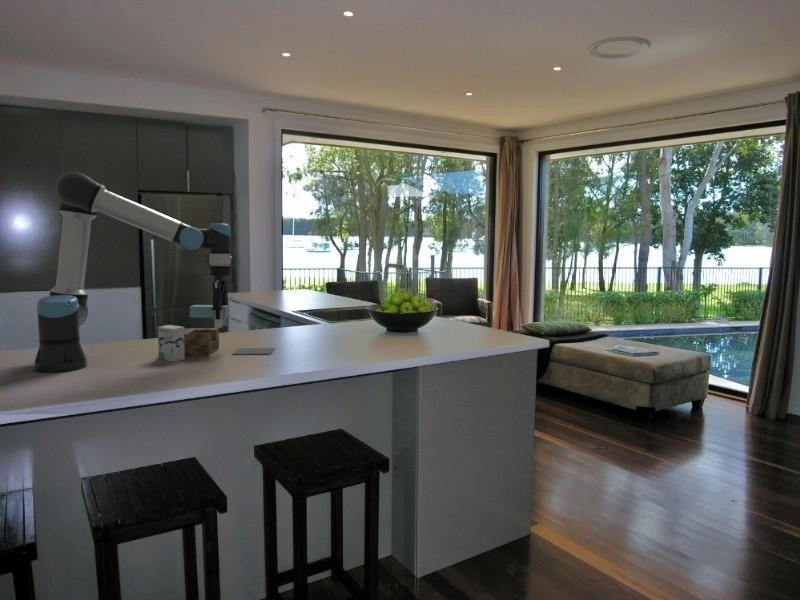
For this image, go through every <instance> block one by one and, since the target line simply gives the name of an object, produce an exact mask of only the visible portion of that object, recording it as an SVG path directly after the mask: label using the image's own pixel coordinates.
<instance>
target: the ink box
mask: <svg viewBox="0 0 800 600" xmlns="http://www.w3.org/2000/svg"><path fill="white" fill-rule="evenodd" d="M184 328H185V327H184V326H180V325H173V324H166V325H162V326H158V327H157V333H158V334H157V339H158V343H157V345H158V347H157V348H158V351H157V352H158V355H157V356H158V360H162V361H168V362H169V361H170V362H179V361H183V360H185V359H186V356H185V346H184Z"/></svg>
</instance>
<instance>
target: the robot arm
mask: <svg viewBox="0 0 800 600" xmlns="http://www.w3.org/2000/svg"><path fill="white" fill-rule="evenodd" d="M55 192H56V195H57V197H58V198H59V205H58V207H59V208H58V212H59V213H60V214H61V216H62V228H61V236H60V244H59V251H58V252H59V253H58V261H57V262H58V264H57V273H56V281H55V286H54V287H52V288H51V289H50V290H49V296H43V297H41V298H39V299H38V301H37V305H36V306H37V307H36V311H37V324H38V327H37V328H38V343H39V346H38V349H37V352H36V357H35V358H34V359H35V360H34V363H33V367H34V371H36V372H39V373H40V372H42V373H56V372H57V373H58V372H66V371H67V372H68V371H73V370H78V369H83V368H85V367H87V366H88V359H87V356H86V354H85V352H84V350H83V347H82V345H81V339H80V338H81V337H80V327H81V326H82V325H83V324H84V323H85V321H86V320H87V318H88V314H89V308H88V296H89V293H88V292H87V291H86V290H85V280H86V272H87V271H86V270H87V263H88V254H89V252H88V251H89V245H90V237H91V227H92V221H93V220H94V219H96V218H97V217H98V213H101V214H103V215H106V216H109V217H111V218H113V219H115V220H118V221H121V222H122V223H126V224H129V225H130V226H133V227H135V228H138V229H140V230H143V231H145V232H147V233H150V234H152V235H155V236H157V237H160V238H161V239H164V240H167V241H169V242H172V243H174V245H175V248H177V249H183V250H190V251H191V250H192V251H193V250H200V249H201V250H209V264H210V266H209V275H210V276H211V277H214V281H213V282H212V305H213V308H212V310H214V321H213V322H214V328H219V329H222V328H223V326H224V327H225V326H227V322H228V321H227V319H228V317H226V318H222V310H221V309H222V305H229V302H228V301H229V297H228V285H229V282H228V281H229V280H226V277H230V276H231V274H232V273H231V271H232V270H231V268H232V266H231V262H232V261H231V260H232V259H233V256H231V250H232V249H231V246H232V245H231V242H232V239H231V237H232V235H231V226H230V224H228V223H210V224H209V226H208V228H197V227H194V226H191V225H189V224H187V223H185V222H182V221H180V220H177V219H175V218H173V217H170V216H168V215H165V214H163V213H161V212H159V211H156V210H154V209H152V208H149V207H147V206H145V205H143V204H140V203H137V202H135V201H133V200H131V199H128V198H125V197H124V196H121V195H119V194H117V193H114V192H112V191H110V190H107V188H106V186H105V185H104V184H101V183H100V182H99V183H98V182H97V181H95V179H93V178H92V177H90V176H88V175H86V174H84V173H82V172H78V171H71V172H67V173H64V174H62V175H61V176H60V177H59V178H58V179H57V181H56V184H55Z"/></svg>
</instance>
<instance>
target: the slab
mask: <svg viewBox="0 0 800 600" xmlns="http://www.w3.org/2000/svg"><path fill="white" fill-rule="evenodd" d="M212 308H213V304H194V305H190V306H189V318H205V319H206V318H209V319H210V318H214V310H212ZM221 310H222V318H226V317H227V318H228V317H229V316H230V305H229V304H228V305H222V309H221Z"/></svg>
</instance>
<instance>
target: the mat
mask: <svg viewBox="0 0 800 600" xmlns="http://www.w3.org/2000/svg"><path fill="white" fill-rule="evenodd" d="M275 350H276V347H239V348H237V349H236V350H234V352H232V354H231V355H232V356H247V355H248V356H250V355H252V356H255V355H257V356H258V355H259V356H260V355H262V356H263V355H264V356H266V355H267V356H268V355H269V356H270V354H271V355H272V354H273V352H274V351H275Z"/></svg>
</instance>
